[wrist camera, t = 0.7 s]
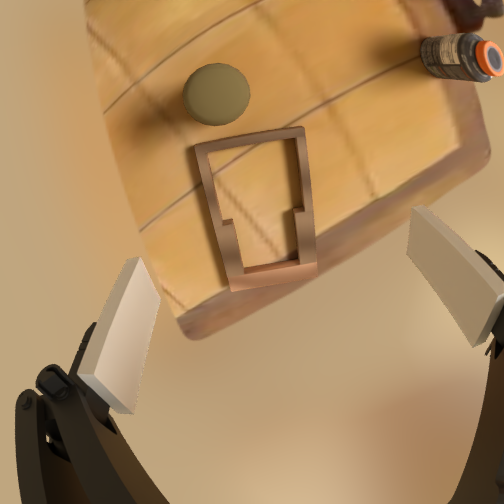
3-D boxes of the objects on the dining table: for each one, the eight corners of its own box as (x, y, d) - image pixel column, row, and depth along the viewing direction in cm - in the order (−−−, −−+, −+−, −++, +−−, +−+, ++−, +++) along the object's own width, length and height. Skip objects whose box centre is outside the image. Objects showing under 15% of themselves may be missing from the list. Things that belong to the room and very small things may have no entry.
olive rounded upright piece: (193, 120, 29) (172, 133, 19) (196, 68, 26) (175, 56, 16) (248, 121, 29) (253, 135, 20) (252, 70, 26) (260, 57, 17)
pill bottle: (457, 65, 24) (516, 71, 14) (436, 86, 26) (496, 96, 17) (434, 30, 22) (492, 24, 12) (411, 49, 24) (470, 45, 14)
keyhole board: (195, 144, 30) (194, 146, 29) (301, 125, 30) (304, 127, 28) (231, 284, 41) (231, 291, 39) (315, 270, 40) (317, 276, 39)
